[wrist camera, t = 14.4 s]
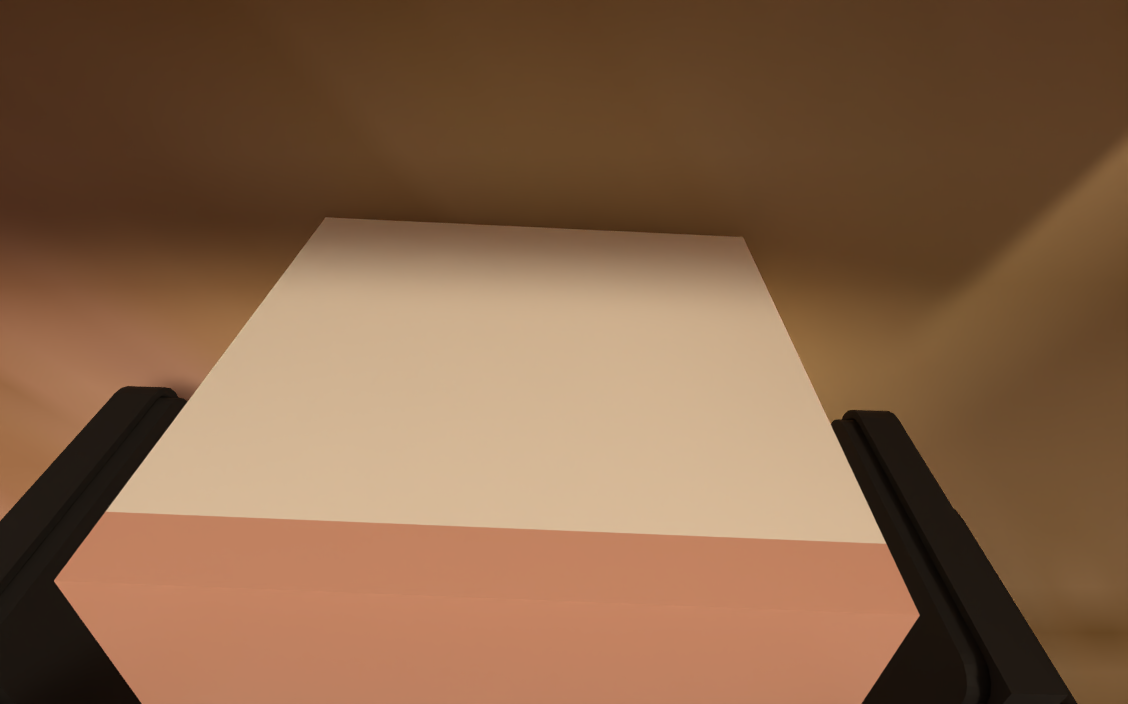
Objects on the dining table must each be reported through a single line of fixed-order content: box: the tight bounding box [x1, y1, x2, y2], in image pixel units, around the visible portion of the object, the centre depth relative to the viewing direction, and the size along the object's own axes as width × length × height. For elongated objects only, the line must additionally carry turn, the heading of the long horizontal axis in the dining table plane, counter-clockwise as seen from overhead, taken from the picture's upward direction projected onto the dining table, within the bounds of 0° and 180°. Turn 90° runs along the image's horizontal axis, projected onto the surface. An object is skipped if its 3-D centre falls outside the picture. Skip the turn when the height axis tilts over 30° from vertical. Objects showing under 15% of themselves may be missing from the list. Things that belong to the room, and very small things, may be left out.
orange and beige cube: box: [54, 217, 920, 704], centre depth 9 cm, size 6×6×6 cm
